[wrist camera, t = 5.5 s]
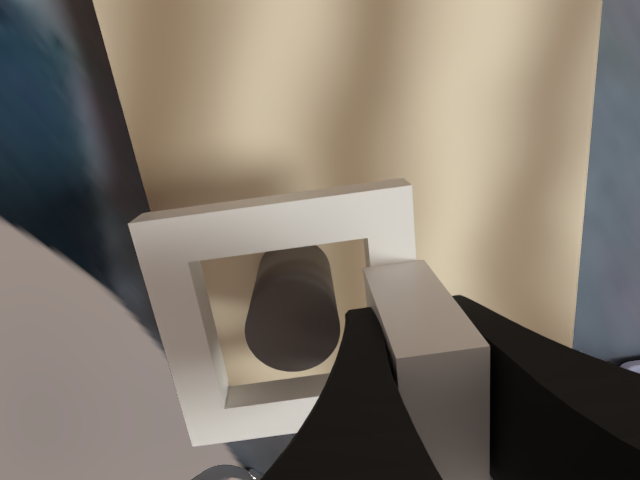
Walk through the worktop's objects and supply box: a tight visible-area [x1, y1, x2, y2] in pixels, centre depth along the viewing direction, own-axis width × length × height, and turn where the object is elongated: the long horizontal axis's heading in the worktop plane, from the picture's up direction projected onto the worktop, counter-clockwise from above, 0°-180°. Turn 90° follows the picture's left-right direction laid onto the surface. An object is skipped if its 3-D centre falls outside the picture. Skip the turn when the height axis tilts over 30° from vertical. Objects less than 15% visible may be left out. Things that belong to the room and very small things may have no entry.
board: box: [93, 0, 602, 386], centre depth 13 cm, size 15×16×6 cm
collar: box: [128, 178, 490, 480], centre depth 10 cm, size 7×7×5 cm
